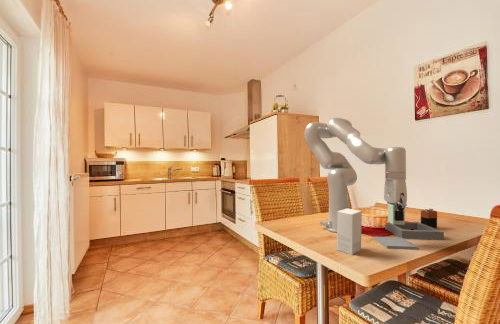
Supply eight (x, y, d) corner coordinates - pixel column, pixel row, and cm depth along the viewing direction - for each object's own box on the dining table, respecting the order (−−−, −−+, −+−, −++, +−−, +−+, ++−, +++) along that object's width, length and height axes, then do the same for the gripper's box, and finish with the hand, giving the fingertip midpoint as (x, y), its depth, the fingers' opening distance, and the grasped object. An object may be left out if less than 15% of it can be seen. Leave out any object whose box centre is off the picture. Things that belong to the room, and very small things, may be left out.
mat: (387, 248, 94) (387, 245, 94) (374, 238, 106) (374, 236, 106) (418, 249, 93) (418, 246, 93) (401, 239, 105) (401, 237, 105)
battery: (437, 228, 125) (437, 209, 125) (428, 229, 123) (428, 210, 123) (429, 226, 129) (429, 208, 129) (420, 227, 127) (420, 208, 127)
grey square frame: (401, 238, 107) (401, 230, 107) (382, 227, 125) (382, 221, 125) (443, 239, 105) (443, 232, 105) (418, 228, 123) (418, 222, 123)
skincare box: (346, 245, 97) (346, 208, 97) (362, 250, 92) (363, 210, 92) (336, 250, 91) (336, 210, 91) (352, 255, 86) (353, 213, 86)
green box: (393, 224, 97) (393, 205, 98) (387, 221, 102) (387, 203, 102) (404, 224, 97) (404, 205, 97) (398, 222, 101) (398, 203, 102)
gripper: (377, 175, 109) (377, 214, 108) (396, 177, 92) (397, 223, 91) (394, 175, 108) (394, 215, 108) (417, 177, 91) (417, 224, 91)
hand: (395, 218), depth 99 cm, fingers closed on green box, 4 cm apart
